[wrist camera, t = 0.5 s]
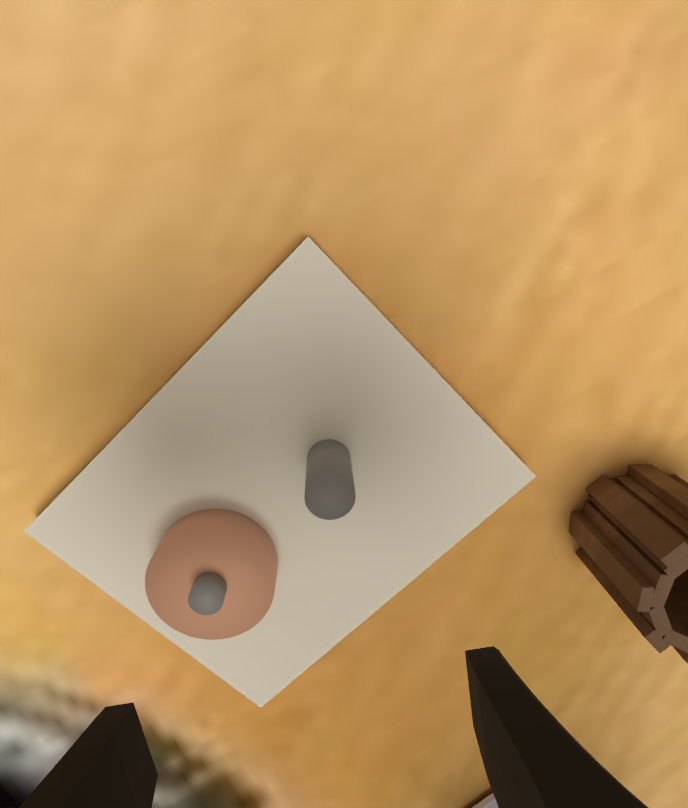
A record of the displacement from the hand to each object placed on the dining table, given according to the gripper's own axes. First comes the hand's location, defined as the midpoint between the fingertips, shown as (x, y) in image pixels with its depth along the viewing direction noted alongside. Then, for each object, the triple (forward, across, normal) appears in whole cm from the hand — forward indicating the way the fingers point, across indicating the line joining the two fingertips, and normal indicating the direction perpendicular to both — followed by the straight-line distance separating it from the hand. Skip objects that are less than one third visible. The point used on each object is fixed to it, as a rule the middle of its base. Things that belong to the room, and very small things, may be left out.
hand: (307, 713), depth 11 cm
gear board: (+10, +1, 0) cm, 10 cm away
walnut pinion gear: (+10, -13, +3) cm, 16 cm away
